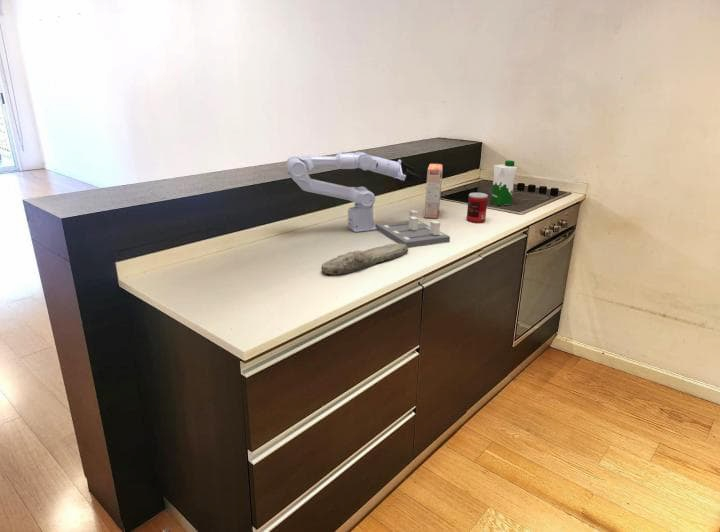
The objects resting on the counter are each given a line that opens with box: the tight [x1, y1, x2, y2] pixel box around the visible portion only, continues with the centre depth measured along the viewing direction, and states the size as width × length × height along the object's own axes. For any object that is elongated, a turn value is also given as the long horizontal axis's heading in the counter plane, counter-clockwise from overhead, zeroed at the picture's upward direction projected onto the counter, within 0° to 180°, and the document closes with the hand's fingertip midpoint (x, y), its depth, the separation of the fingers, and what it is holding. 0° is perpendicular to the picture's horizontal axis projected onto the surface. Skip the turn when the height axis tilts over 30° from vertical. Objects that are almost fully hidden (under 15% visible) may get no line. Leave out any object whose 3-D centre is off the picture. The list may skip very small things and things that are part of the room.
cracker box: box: [423, 163, 443, 220], centre depth 210 cm, size 14×6×21 cm, turn 168°
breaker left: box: [408, 209, 419, 218], centre depth 193 cm, size 2×3×4 cm
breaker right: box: [430, 220, 441, 235], centre depth 179 cm, size 2×3×4 cm
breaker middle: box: [408, 216, 419, 230], centre depth 184 cm, size 2×3×4 cm
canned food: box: [466, 192, 489, 224], centre depth 204 cm, size 8×8×11 cm
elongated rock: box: [320, 243, 409, 276], centre depth 158 cm, size 35×5×10 cm
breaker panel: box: [375, 220, 451, 249], centre depth 185 cm, size 18×24×2 cm
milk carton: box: [490, 160, 519, 206], centre depth 229 cm, size 9×9×20 cm
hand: (416, 175), depth 192 cm, fingers open, 7 cm apart
